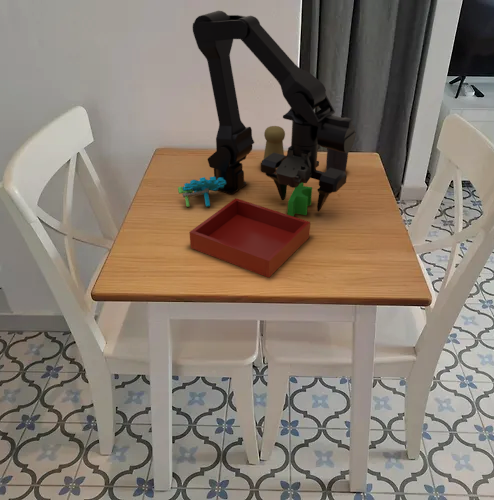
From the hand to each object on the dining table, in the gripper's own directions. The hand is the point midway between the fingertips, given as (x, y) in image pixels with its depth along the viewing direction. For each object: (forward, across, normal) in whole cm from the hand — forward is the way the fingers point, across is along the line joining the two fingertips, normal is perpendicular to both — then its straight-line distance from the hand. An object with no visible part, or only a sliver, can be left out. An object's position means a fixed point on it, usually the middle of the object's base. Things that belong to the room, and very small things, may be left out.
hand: (300, 205), depth 125 cm
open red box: (+1, -2, -18) cm, 18 cm away
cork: (+1, -16, +15) cm, 22 cm away
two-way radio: (+1, -1, +21) cm, 21 cm away
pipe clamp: (+1, 0, 0) cm, 1 cm away
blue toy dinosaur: (+1, -21, -9) cm, 23 cm away
